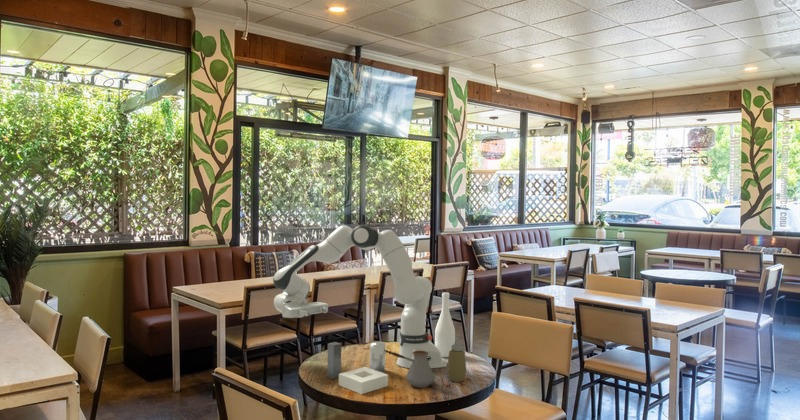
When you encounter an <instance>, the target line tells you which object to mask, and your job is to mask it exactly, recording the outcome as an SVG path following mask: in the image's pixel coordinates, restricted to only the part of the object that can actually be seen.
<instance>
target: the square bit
mask: <svg viewBox="0 0 800 420" xmlns="http://www.w3.org/2000/svg"><path fill="white" fill-rule="evenodd" d="M326 372H327V374H326V375H327V378H330V379H333V380H335V379H339V374H340V373H342V343H339V342H337V341H333V342H329V343H328V342H327V371H326Z"/></svg>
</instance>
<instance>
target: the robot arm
mask: <svg viewBox="0 0 800 420" xmlns="http://www.w3.org/2000/svg"><path fill="white" fill-rule="evenodd" d="M352 247H357V248H358V249H361V250H363V251H365V252H370V251H374V250H376V249H377V250H378V252H379V254H380V255H381V257H382V259H383V261H384V263H385V265H386V267H387V270H388V271H389V273H390V275H391V279H392V282H393V287H394V291H393V296H394V298H395V300H396V302H397V303H399V304H401V305H404V307H403V310H402V312H401V314H400V315H401V316H400V332H399V343H398V344H399V352H398V354H400V355H402V356H404V357H407V358H410V359H414V355H413V352H414V351H426V352H428V353H429V354H428V355H427V360H428V362H429V365H430V367H431V369H441V368H447V367H448V361H446V359H444V357H442V356H441V352H440V350H439V348H437V347H436V346H435V343H433V342H432V341H431V340H432V339H433V336H432V335H431V334H429V333H428V332H426V317H427V310H428V305H429V300H430V295H431V293H432V292H433V291H432V290H433V283H432V282H431V281H430V279H429V278H427V277H425V276H420V275H419V276H415V273H414V269H413V261H412V259H411V257H410V255H409V253H408V251H407V249H406V247H405V245H404V244H403V242H402V241H401V239H400V238H399V237H398V235H397V234H396V233H395V232H394V230H392V229H384V230H382V231H380V232H379V231H377V230H376V229H375V228H373V227H371V226H369V225H367V224H358V225H356V226H355V227H354V228H353V229H352V228H351V227H350V226H349V225H345V224H342V225H340V226H339V227H337V228H335V229H334V230H333V231H332V232H331V233H330V234H329V235H328V236H327V237H326V238H325V239H324V240H323V241H321V242H320V243H317V244H311V245H310V246H308V247H307V248H305V250H303V251H302V252H301V253H299V254H298V255H297V256H295V258H293V259H292V260H291V261H290V262H288V263H287V264H286V265H284V266H282V267H281V268H279V269H278V270H277V271H275V273H274V274H273V277H272V280H273V285H274V287H275V289H278V290H281V291H282V292H281V293H279V294H276V295H275V296H274V299H273V306H274V308H275V309H276V311H278V312H280V313H281V315H282V318H290V319H291V318H293V319H294V318H299V319H301V318H303V317H308V316H310V315H311V316H312V315H315V314H321V313H323V314H327V313H328V311H329V304H328V303H326V302H323V301H322V302H321V301H314V302H309V301H308V300H307V298H308V297H309V294H310V290H311V285H310V282H309V281H307V280H306V279H305V278H303V277H301V276H300V275H298V274H297V272H299V270H301V269H302V268H303V267H305V266H306V265H307V264H309V263H310V262H311V263H312V262H320V263H325V264H334V263H337V261H339V260H340V259H341V258H342V257H343V256H344V255H345V253H346V252H347V251H348V250H349V249H350V248H352ZM411 364H412V361H409V360H407V359H404V358H400V357H398V358H397V361H396V365H397V366H399V367H402V368H406V369H409V368H410V366H411Z"/></svg>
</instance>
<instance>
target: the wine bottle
mask: <svg viewBox="0 0 800 420" xmlns="http://www.w3.org/2000/svg"><path fill="white" fill-rule="evenodd" d="M441 293H442V294H441V298H442V300H441V312H440V315H439V318H438V320H437V324H436V327H435V329H434V345H435V346H436V347H437V348H439V350H440V352H441V356H442V358H449V351H450V350H452V345H454V343H455V339H456V329H455V326H454V322H453V319H452V316H451V313H450V293H449V292H445V291H444V292H441Z"/></svg>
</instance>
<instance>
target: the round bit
mask: <svg viewBox="0 0 800 420" xmlns="http://www.w3.org/2000/svg"><path fill="white" fill-rule="evenodd" d="M369 345H370V346H369V368H370V369H373V370H376V371H379V372H382V373H385V372H386V354H385V350H386V342H384V341H381V340H379V341H371V342H370V343H369ZM383 352H384V354H385V355H383Z"/></svg>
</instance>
